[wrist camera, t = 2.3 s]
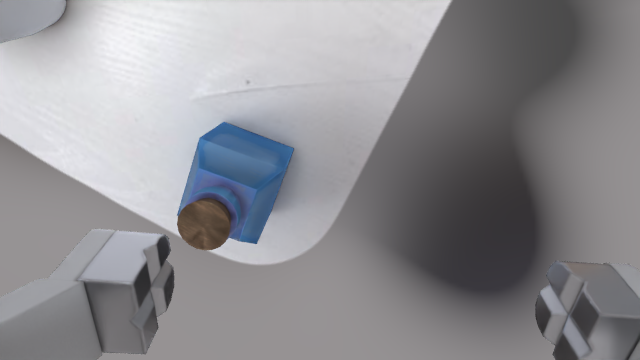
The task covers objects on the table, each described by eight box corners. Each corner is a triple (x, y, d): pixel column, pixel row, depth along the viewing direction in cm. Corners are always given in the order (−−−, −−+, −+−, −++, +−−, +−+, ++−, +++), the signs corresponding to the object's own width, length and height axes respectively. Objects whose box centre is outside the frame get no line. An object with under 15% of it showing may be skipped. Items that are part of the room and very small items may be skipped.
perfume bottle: (294, 148, 36) (269, 198, 25) (270, 212, 38) (237, 286, 27) (223, 121, 36) (166, 160, 24) (203, 187, 38) (141, 251, 26)
